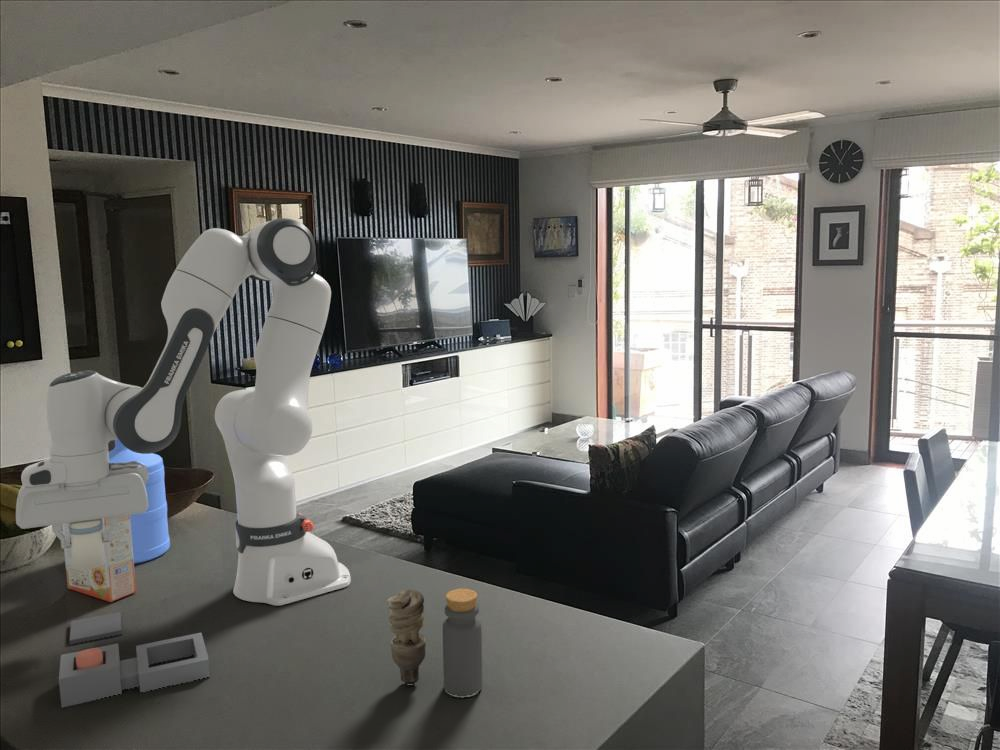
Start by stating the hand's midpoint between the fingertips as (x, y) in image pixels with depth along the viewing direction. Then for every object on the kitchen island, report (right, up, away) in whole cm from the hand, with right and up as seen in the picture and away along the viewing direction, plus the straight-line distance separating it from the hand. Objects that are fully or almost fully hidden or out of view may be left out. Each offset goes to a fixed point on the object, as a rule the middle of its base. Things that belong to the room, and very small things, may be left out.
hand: (87, 544), depth 139 cm
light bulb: (+57, -18, -16) cm, 62 cm away
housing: (+15, -18, -13) cm, 27 cm away
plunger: (+9, -18, -16) cm, 26 cm away
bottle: (+66, -18, -17) cm, 71 cm away
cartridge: (0, -4, 0) cm, 4 cm away
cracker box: (-7, -13, +19) cm, 24 cm away
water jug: (-10, -10, +38) cm, 41 cm away
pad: (0, -16, +3) cm, 16 cm away
